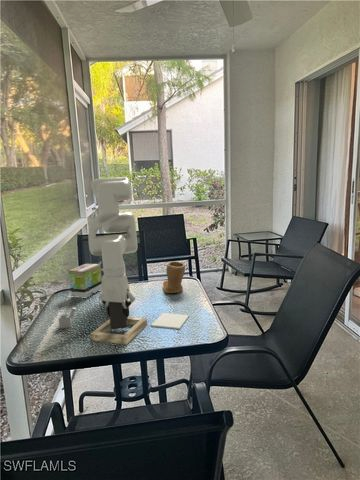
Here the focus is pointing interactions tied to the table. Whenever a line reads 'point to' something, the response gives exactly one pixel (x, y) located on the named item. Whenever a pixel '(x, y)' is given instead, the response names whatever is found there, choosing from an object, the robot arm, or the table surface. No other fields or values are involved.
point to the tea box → (85, 280)
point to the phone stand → (117, 316)
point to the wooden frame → (117, 338)
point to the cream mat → (170, 321)
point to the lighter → (66, 319)
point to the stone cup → (174, 277)
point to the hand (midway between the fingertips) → (118, 316)
